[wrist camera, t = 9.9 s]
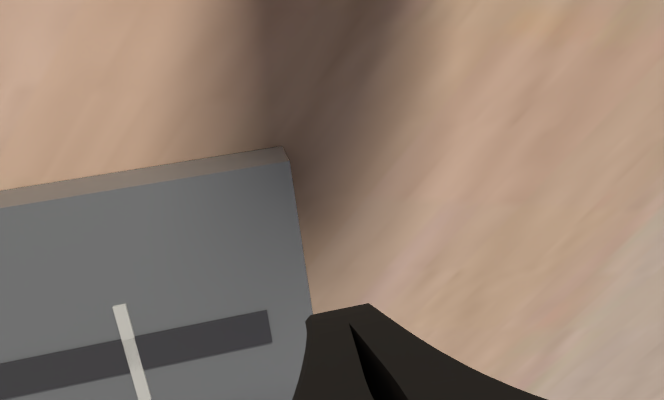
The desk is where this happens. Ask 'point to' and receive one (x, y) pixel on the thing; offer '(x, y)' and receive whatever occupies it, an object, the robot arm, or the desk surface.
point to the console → (155, 284)
